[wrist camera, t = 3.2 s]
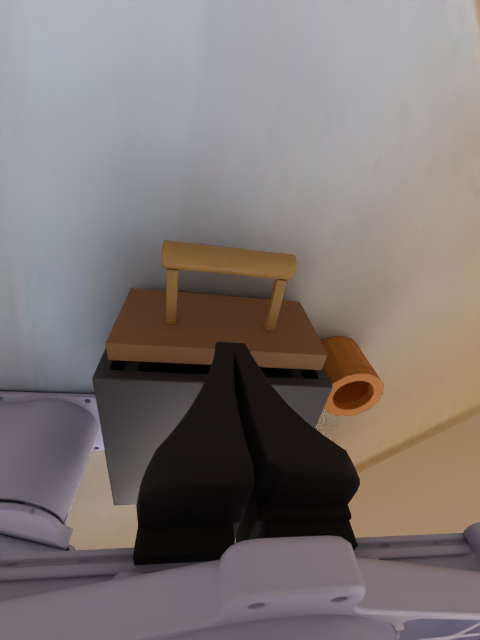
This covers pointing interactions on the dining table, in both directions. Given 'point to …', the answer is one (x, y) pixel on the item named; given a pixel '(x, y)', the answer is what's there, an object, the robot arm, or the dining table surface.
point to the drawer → (215, 317)
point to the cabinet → (169, 414)
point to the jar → (349, 378)
